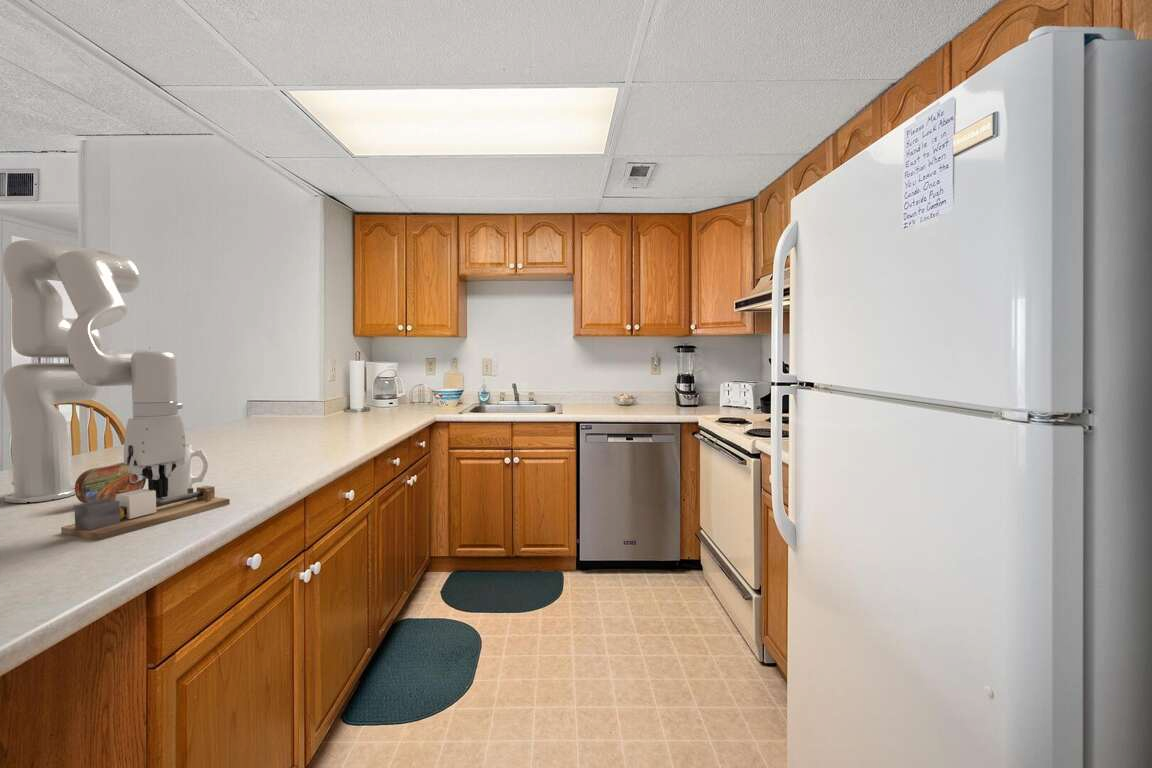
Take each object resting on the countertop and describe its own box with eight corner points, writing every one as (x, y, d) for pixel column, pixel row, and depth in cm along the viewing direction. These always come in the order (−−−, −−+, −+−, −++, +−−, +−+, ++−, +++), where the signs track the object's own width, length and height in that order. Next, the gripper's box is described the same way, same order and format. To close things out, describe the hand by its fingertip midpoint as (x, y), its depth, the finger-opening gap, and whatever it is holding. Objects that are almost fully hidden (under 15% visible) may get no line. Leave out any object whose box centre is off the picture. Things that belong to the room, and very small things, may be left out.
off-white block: (116, 516, 111) (115, 494, 111) (143, 510, 116) (142, 488, 116) (130, 518, 110) (129, 496, 110) (156, 512, 114) (155, 490, 114)
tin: (84, 509, 121) (82, 471, 121) (72, 508, 122) (70, 471, 121) (148, 492, 136) (146, 458, 136) (137, 492, 137) (136, 458, 136)
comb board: (61, 533, 105) (60, 504, 105) (195, 499, 130) (194, 475, 130) (99, 540, 102) (97, 510, 101) (229, 504, 126) (228, 479, 126)
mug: (155, 500, 129) (153, 449, 128) (161, 494, 134) (159, 445, 134) (207, 495, 133) (206, 446, 133) (210, 489, 139) (209, 442, 139)
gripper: (178, 406, 124) (181, 487, 125) (103, 413, 110) (106, 504, 111) (203, 407, 122) (205, 490, 123) (128, 414, 107) (132, 508, 108)
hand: (158, 496), depth 117 cm, fingers closed
